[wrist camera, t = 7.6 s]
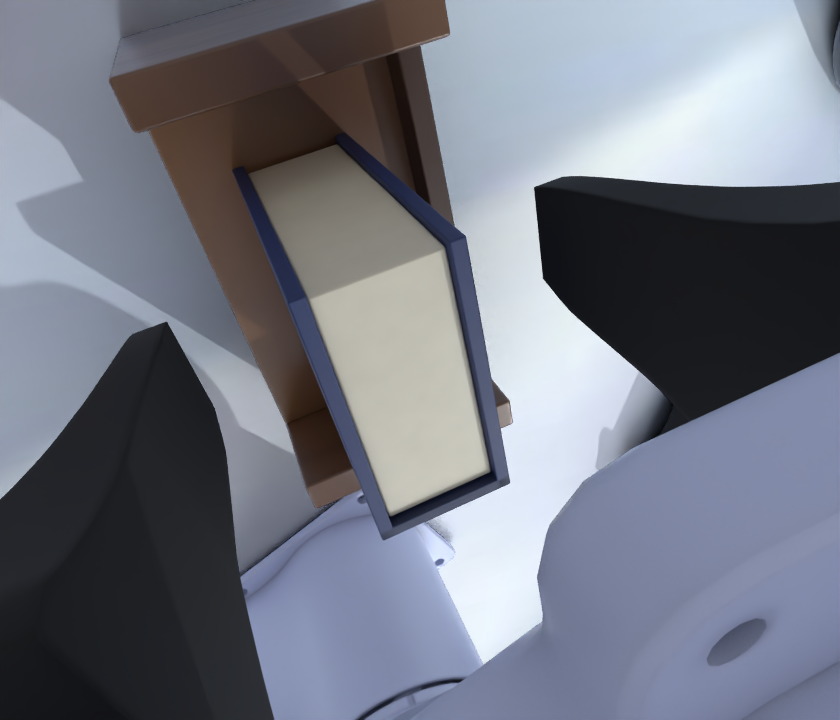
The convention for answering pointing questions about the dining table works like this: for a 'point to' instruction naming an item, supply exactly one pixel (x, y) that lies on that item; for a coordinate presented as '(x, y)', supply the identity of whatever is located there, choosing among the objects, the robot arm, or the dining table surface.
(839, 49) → the spread jar
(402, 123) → the shelf
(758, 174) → the dining table surface
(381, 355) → the book
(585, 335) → the dining table surface
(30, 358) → the dining table surface
